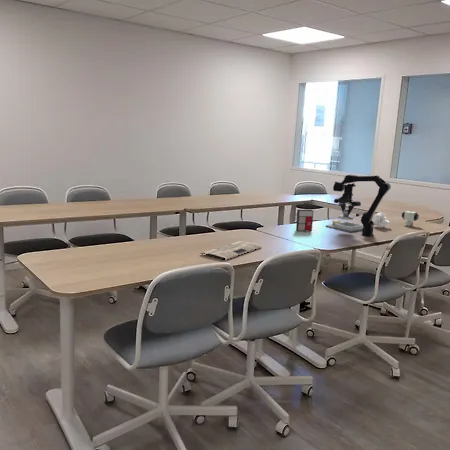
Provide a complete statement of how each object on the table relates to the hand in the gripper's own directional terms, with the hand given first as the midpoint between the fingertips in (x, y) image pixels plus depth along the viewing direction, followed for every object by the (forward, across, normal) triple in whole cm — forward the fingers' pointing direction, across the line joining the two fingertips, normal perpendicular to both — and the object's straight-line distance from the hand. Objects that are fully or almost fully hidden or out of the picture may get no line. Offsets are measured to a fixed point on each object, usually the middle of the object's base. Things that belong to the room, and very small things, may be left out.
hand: (346, 214), depth 331 cm
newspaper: (+14, -9, -104) cm, 106 cm away
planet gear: (+3, 0, 0) cm, 3 cm away
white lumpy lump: (+13, +7, +38) cm, 41 cm away
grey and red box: (+13, -19, -22) cm, 32 cm away
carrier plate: (+13, -7, +11) cm, 19 cm away
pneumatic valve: (+13, +17, +65) cm, 69 cm away
